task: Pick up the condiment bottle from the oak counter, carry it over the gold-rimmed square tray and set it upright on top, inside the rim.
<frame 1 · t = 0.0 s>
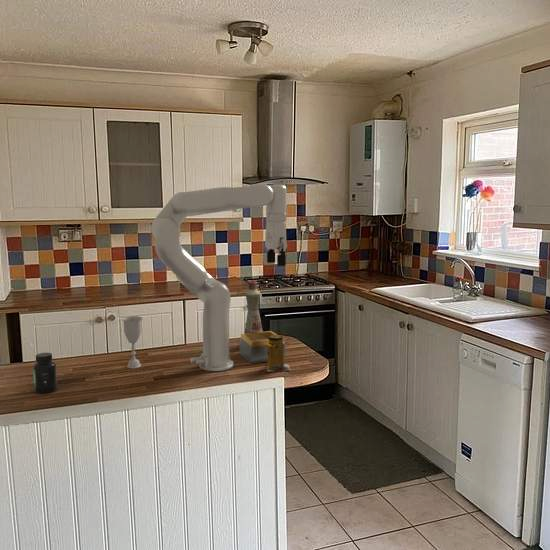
hand: (276, 264, 202), 37 cm above the worktop, tool pointing down, fingers open, 9 cm apart
chalice: (134, 366, 198), on the worktop
condiment: (278, 368, 196), on the worktop
gold-rimmed square tray: (261, 355, 210), on the worktop
bottle: (253, 346, 224), on the worktop
supplement bottle: (46, 391, 174), on the worktop
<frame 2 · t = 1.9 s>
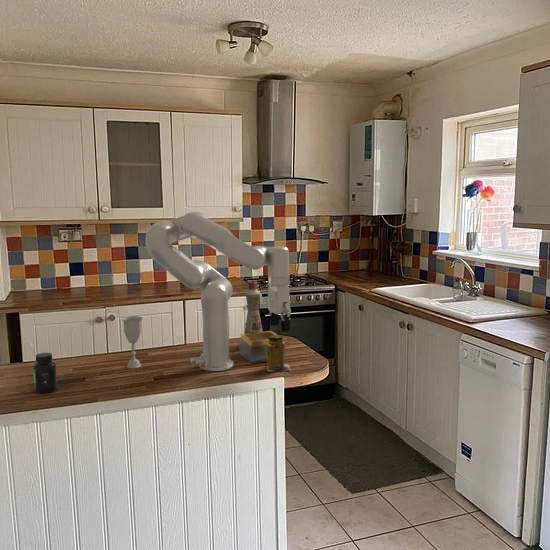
hand: (280, 328, 193), 15 cm above the worktop, tool pointing down, fingers open, 9 cm apart
nothing on the worktop moved.
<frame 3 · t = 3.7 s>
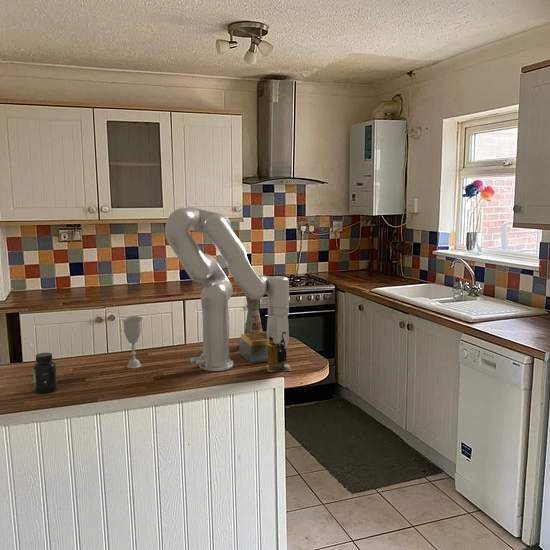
hand: (278, 358, 195), 4 cm above the worktop, tool pointing down, fingers closed on condiment, 6 cm apart
condiment: (278, 369, 195), on the worktop, touching gripper
everything else where it was.
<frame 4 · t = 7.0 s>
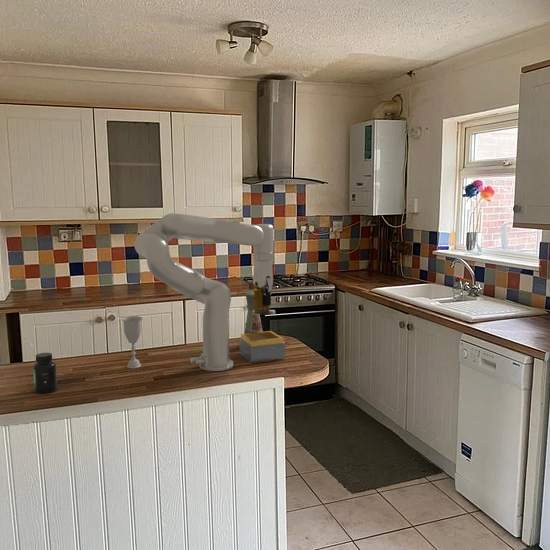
hand: (263, 303, 206), 21 cm above the worktop, tool pointing down, fingers closed on condiment, 6 cm apart
condiment: (264, 313, 206), point 18 cm above the worktop, touching gripper
everything else where it was.
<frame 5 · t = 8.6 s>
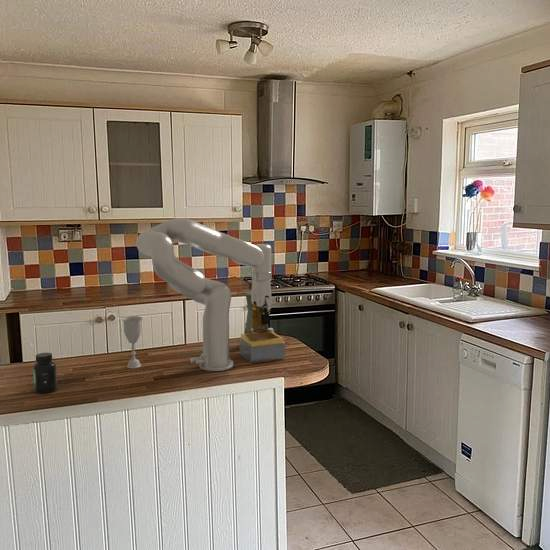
hand: (262, 321, 208), 14 cm above the worktop, tool pointing down, fingers closed on condiment, 6 cm apart
condiment: (262, 331, 209), point 10 cm above the worktop, touching gripper
everything else where it was.
when the fingers open (11 cm above the worktop, at t = 10.0 s): condiment drops 1 cm, resting on gold-rimmed square tray.
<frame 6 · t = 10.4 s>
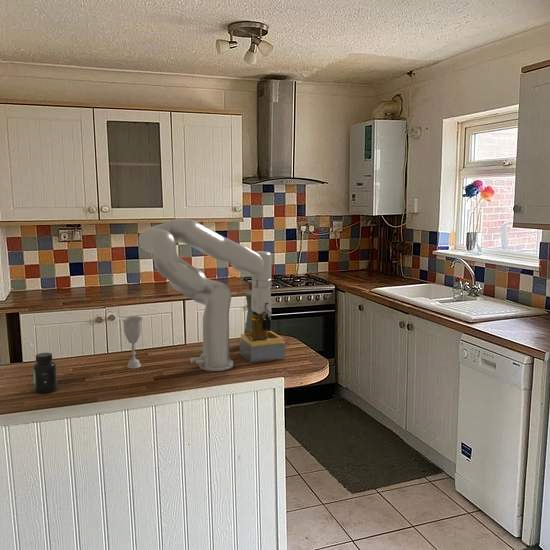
hand: (261, 327, 209), 12 cm above the worktop, tool pointing down, fingers open, 9 cm apart
condiment: (261, 341, 209), point 6 cm above the worktop, touching gold-rimmed square tray
everything else where it was.
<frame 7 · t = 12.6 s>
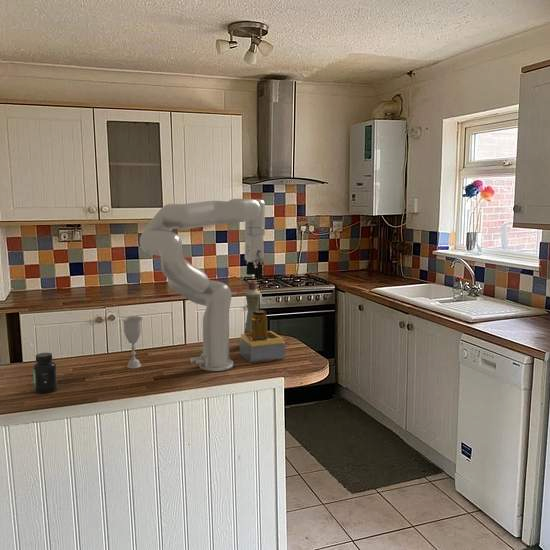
hand: (254, 276, 207), 31 cm above the worktop, tool pointing down, fingers open, 9 cm apart
nothing on the worktop moved.
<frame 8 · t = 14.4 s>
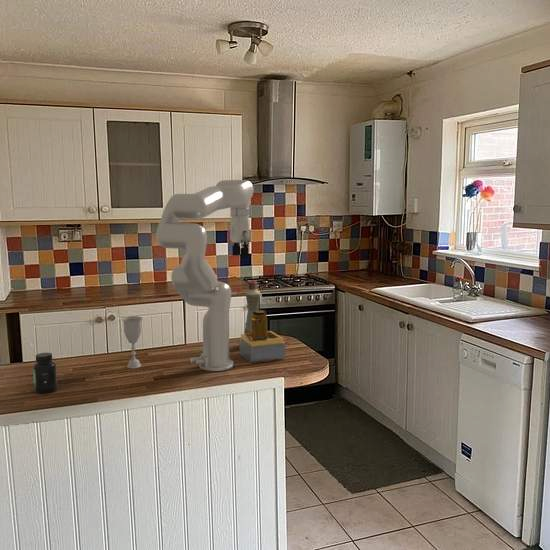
hand: (240, 256, 212), 38 cm above the worktop, tool pointing down, fingers open, 9 cm apart
nothing on the worktop moved.
at the end: condiment 0.3 cm off-centre on the gold-rimmed square tray, point 5.8 cm above the gold-rimmed square tray's base; condiment tilted 0°; the gripper is holding nothing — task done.
